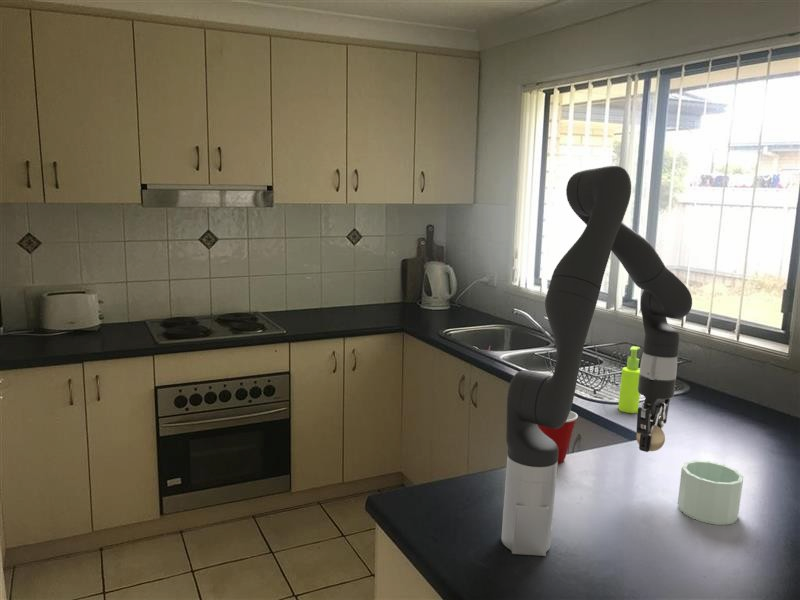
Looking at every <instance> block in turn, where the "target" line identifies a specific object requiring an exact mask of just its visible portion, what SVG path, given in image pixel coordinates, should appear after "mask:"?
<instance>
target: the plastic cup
mask: <svg viewBox="0 0 800 600" xmlns="http://www.w3.org/2000/svg"><path fill="white" fill-rule="evenodd" d="M578 417H579V414H577V413H576V412H574V411H572V410H570V413H569V416H568V418H567V420H566V422H565V423H564V425H563V426H562V427H560V428H558V429H553V428H549V427H545V426H541V425H537V426H538V427H539V429H540V430H541V431H542V432H543V433H544V434H545V435H547V436H548V437H549V438H551V439H552V440H553V441H554V442H555V443H556V444H557V446H558V463H557V464H561V463H564V461H565V459H566V457H567V454H568V453H567V452H568V450H569V447H570V442H571V439H572V434H573V432H574V428H575V425H576V421H577V419H578Z"/></svg>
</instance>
